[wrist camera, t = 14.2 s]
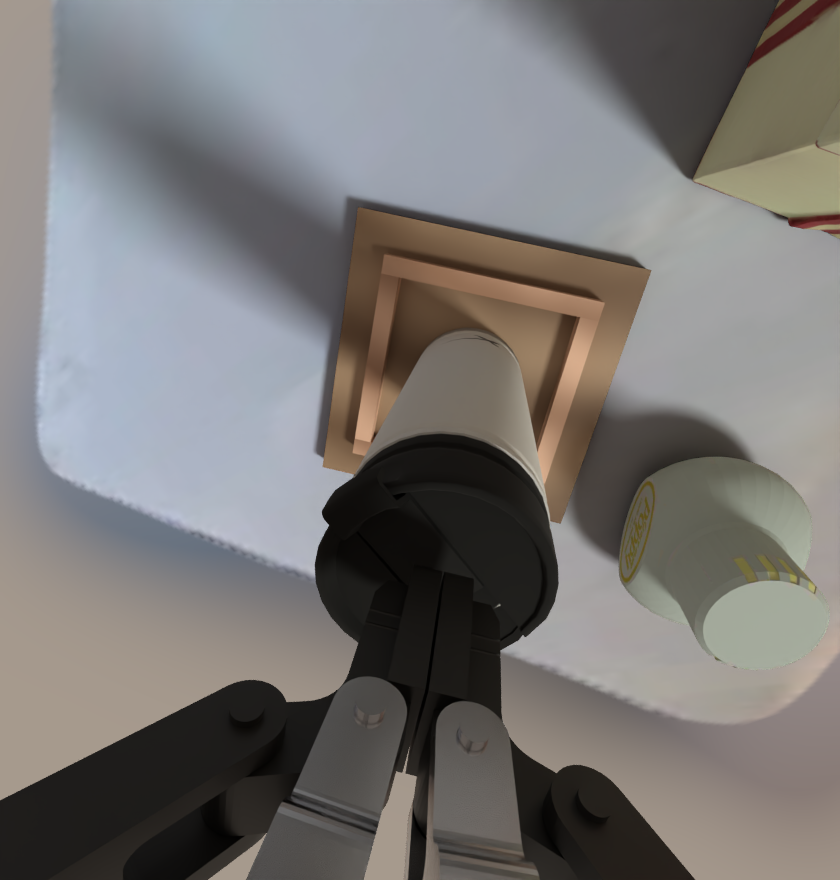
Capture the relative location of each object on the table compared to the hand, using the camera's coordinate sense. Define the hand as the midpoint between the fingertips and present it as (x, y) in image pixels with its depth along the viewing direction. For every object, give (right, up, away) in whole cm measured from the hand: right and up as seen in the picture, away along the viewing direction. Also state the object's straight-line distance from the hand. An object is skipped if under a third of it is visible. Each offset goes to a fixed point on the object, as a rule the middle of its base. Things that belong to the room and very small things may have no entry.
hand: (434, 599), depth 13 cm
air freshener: (+17, -1, +21) cm, 27 cm away
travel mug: (+2, +8, +18) cm, 20 cm away
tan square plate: (+3, +8, +19) cm, 21 cm away
